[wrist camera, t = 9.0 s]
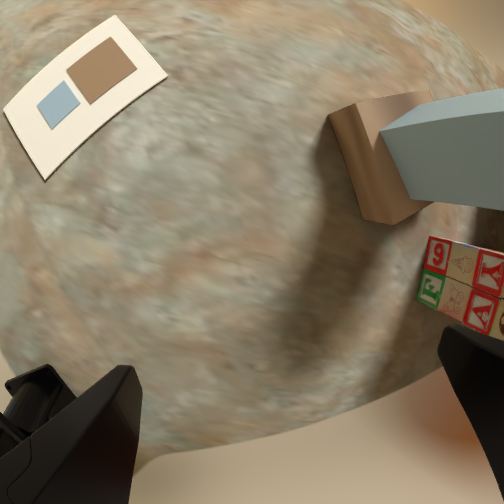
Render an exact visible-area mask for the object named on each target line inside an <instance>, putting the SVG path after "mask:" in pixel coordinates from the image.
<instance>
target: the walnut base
mask: <svg viewBox="0 0 504 504" xmlns="http://www.w3.org/2000/svg"><path fill="white" fill-rule="evenodd" d="M433 101H434V99H433V96H432V94H431V91H430V89H429V90H422V91H416V92H410V93H404V94H398V95H392V96H387V97H382V98H377V99H372V100H368V101H363V102H359V103H355V104H352V105H350V106H347V107H345V108H343V109H340V110H338V111H336V112H333V113H331V114H329V115H328V117H329V119H330V122H331V124H332V127H333V129H334V132H335V135H336V137H337V140H338V143H339V146H340V148H341V151H342V154H343V157H344V160H345V163H346V165H347V168H348V171H349V174H350V178H351V181H352V184H353V187H354V190H355V193H356V197H357V200H358V203H359V207H360V210H361V214H362V217H363V219H364V220H369V221H375V222H380V223H385V224H390V225H395V224H397V223H398V222H400V221H402V220H404V219H405V218H407V217H409V216H411V215H413V214H414V213H416V212H418V211H419V210H421V209H423V208H425V207H426V206H428V205H430V204H431V203H433V202H434V201H425V200H414V199H410V197H409V194H408V192H407V189H406V187H405V185H404V182H403V180H402V178H401V176H400V173H399V171H398V169H397V167H396V165H395V162H394V160H393V158H392V156H391V154H390V152H389V150H388V148H387V146H386V144H385V142H384V140H383V138H382V136H381V134H380V132H379V131H380V130H382V129H383V128H385V127H386V126H388V125H389V124H391V123H392V122H394V121H395V120H397V119H398V118H400V117H401V116H403V115H404V114H406V113H407V112H409V111H411V110H412V109H414V108H415V107H417V106H418V105H421V104H425V103H429V102H433Z"/></svg>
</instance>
